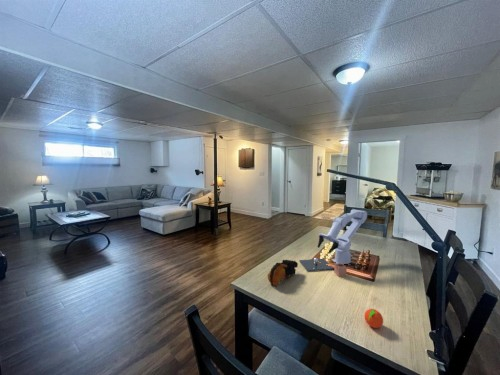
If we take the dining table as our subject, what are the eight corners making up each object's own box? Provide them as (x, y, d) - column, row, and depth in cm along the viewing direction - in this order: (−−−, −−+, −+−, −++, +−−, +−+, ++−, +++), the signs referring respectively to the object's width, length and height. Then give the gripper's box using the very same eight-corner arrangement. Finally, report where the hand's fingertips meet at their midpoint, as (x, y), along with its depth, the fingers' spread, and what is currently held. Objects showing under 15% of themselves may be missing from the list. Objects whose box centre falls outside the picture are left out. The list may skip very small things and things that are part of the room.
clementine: (376, 336, 86) (378, 319, 85) (359, 325, 91) (360, 310, 90) (385, 327, 90) (386, 311, 90) (368, 317, 96) (369, 302, 95)
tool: (295, 287, 131) (301, 262, 134) (274, 288, 116) (281, 260, 118) (284, 282, 137) (290, 258, 139) (263, 282, 121) (270, 255, 124)
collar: (341, 272, 136) (342, 263, 135) (346, 276, 131) (346, 266, 130) (334, 272, 135) (334, 263, 134) (338, 276, 130) (339, 267, 129)
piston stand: (323, 259, 153) (323, 253, 152) (333, 269, 139) (333, 262, 138) (299, 261, 150) (299, 254, 150) (307, 271, 136) (307, 264, 136)
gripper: (322, 225, 142) (312, 241, 137) (344, 234, 133) (334, 252, 128) (323, 230, 147) (314, 246, 142) (344, 239, 138) (335, 257, 133)
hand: (323, 249), depth 135 cm, fingers open, 7 cm apart
